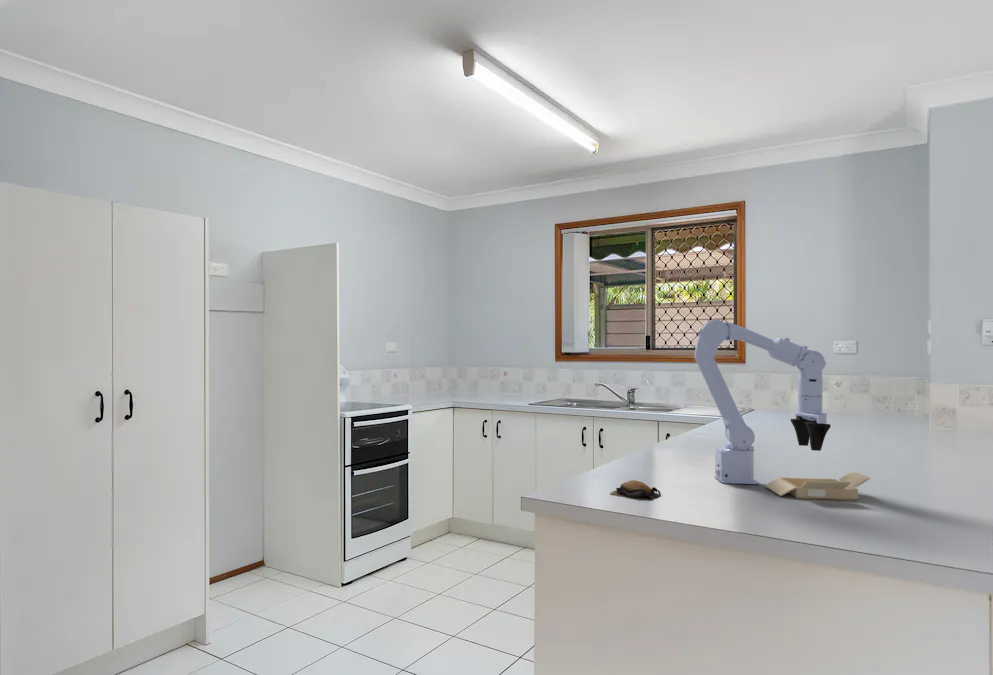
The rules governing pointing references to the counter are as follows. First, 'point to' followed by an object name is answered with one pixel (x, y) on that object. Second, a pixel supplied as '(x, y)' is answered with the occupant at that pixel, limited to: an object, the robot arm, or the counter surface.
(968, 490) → the counter surface
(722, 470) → the robot arm
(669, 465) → the counter surface
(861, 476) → the right flap
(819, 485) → the front flap
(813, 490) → the carton
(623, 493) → the brown black domed lump
